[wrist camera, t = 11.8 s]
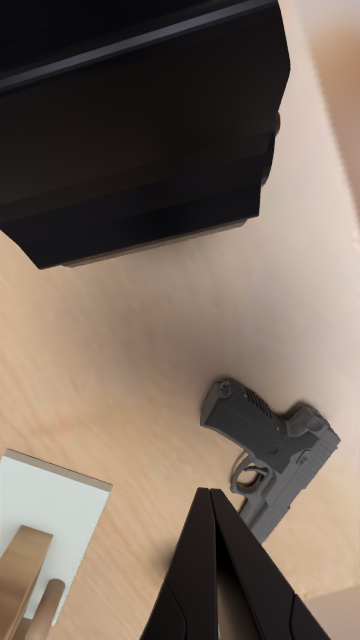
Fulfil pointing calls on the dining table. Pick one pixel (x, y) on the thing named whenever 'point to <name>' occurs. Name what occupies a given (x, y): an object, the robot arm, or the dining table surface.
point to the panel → (48, 528)
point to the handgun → (268, 450)
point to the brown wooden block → (20, 576)
